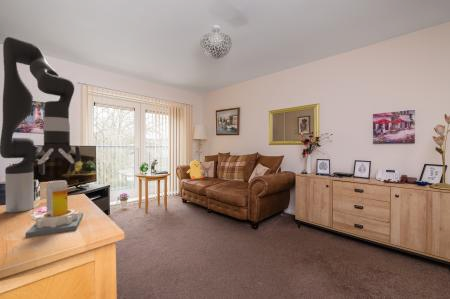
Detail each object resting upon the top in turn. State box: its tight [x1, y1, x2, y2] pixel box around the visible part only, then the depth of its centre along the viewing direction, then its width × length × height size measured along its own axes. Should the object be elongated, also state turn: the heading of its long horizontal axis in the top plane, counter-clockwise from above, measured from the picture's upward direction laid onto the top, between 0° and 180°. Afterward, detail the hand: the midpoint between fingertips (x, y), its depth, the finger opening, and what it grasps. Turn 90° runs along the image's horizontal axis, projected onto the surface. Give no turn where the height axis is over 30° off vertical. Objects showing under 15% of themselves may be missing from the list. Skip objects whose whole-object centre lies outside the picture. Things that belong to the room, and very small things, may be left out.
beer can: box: [45, 179, 69, 217], centre depth 77 cm, size 6×6×15 cm
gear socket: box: [25, 208, 84, 238], centre depth 77 cm, size 16×14×4 cm
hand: (57, 173), depth 77 cm, fingers open, 8 cm apart
